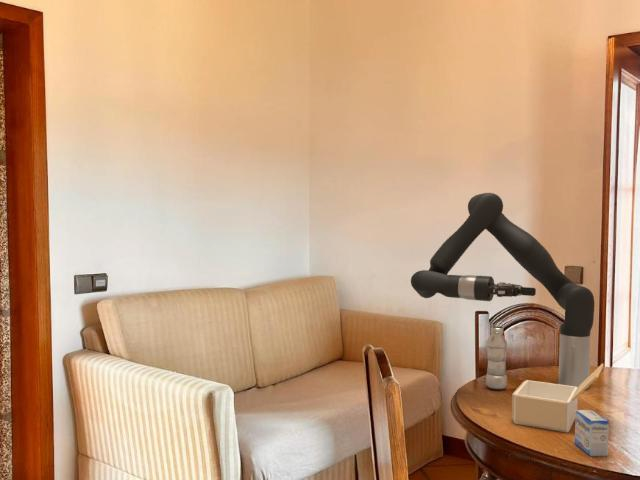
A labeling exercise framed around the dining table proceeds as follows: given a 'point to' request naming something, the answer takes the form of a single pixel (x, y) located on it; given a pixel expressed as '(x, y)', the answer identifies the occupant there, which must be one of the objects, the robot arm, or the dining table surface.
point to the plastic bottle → (496, 359)
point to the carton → (544, 405)
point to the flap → (588, 382)
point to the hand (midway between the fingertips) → (535, 291)
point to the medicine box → (591, 433)
